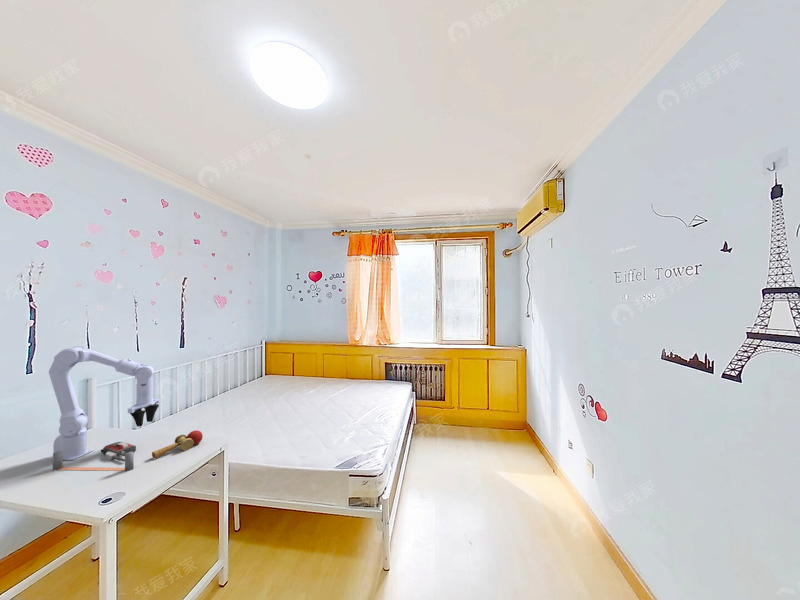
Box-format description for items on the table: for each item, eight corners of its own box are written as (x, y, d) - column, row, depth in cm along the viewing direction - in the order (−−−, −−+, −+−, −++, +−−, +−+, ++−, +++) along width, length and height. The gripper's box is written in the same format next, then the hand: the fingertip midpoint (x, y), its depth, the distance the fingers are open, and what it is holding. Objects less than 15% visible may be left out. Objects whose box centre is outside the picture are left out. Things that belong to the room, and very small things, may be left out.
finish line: (50, 470, 114) (51, 454, 115) (58, 466, 117) (58, 451, 117) (129, 471, 113) (129, 454, 113) (135, 467, 115) (135, 451, 116)
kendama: (159, 465, 120) (207, 441, 135) (155, 449, 120) (204, 427, 135) (151, 463, 124) (199, 440, 139) (147, 448, 124) (195, 427, 139)
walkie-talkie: (93, 456, 126) (121, 465, 118) (93, 445, 126) (121, 454, 118) (120, 447, 134) (147, 455, 126) (120, 436, 134) (147, 444, 126)
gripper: (138, 398, 130) (138, 430, 130) (166, 388, 144) (166, 417, 144) (122, 398, 130) (122, 430, 130) (152, 388, 145) (151, 417, 144)
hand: (144, 423), depth 137 cm, fingers open, 5 cm apart
